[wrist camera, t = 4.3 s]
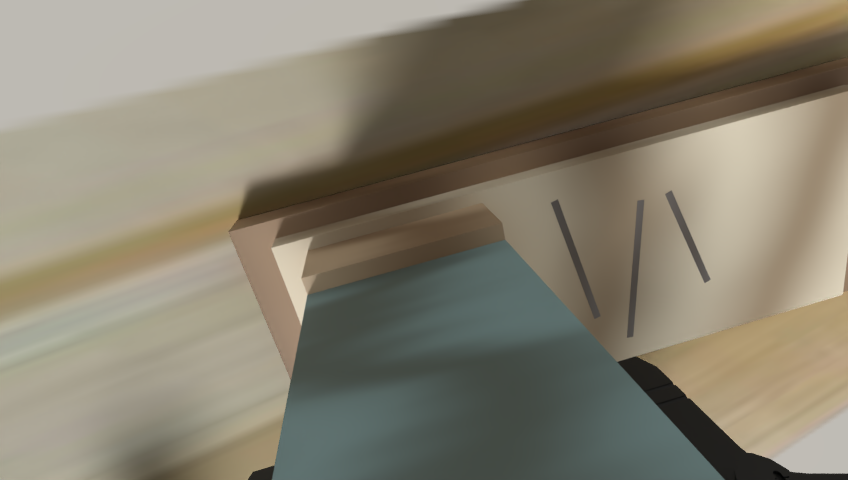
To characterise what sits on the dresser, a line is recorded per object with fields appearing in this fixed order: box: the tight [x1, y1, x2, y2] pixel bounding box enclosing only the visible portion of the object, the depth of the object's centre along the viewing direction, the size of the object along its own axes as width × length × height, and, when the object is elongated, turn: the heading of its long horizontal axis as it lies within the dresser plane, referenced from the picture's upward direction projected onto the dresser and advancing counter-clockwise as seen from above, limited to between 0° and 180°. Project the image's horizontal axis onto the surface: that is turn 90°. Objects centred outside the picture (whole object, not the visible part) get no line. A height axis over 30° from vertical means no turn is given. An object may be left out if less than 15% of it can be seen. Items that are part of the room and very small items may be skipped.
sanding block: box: [272, 203, 725, 480], centre depth 10 cm, size 6×7×12 cm
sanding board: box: [229, 58, 848, 379], centre depth 17 cm, size 22×9×2 cm, turn 103°
